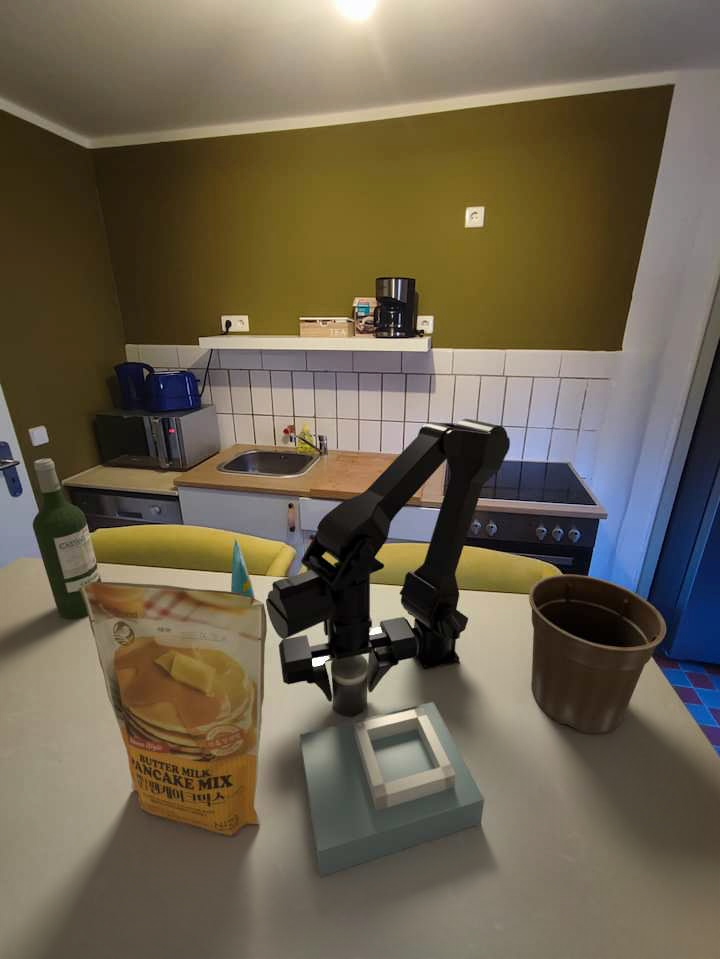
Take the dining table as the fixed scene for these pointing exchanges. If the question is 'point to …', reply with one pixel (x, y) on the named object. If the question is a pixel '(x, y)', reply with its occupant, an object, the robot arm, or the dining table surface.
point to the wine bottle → (63, 544)
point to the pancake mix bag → (185, 696)
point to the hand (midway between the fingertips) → (349, 694)
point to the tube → (240, 573)
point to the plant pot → (589, 649)
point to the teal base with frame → (385, 786)
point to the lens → (349, 685)
